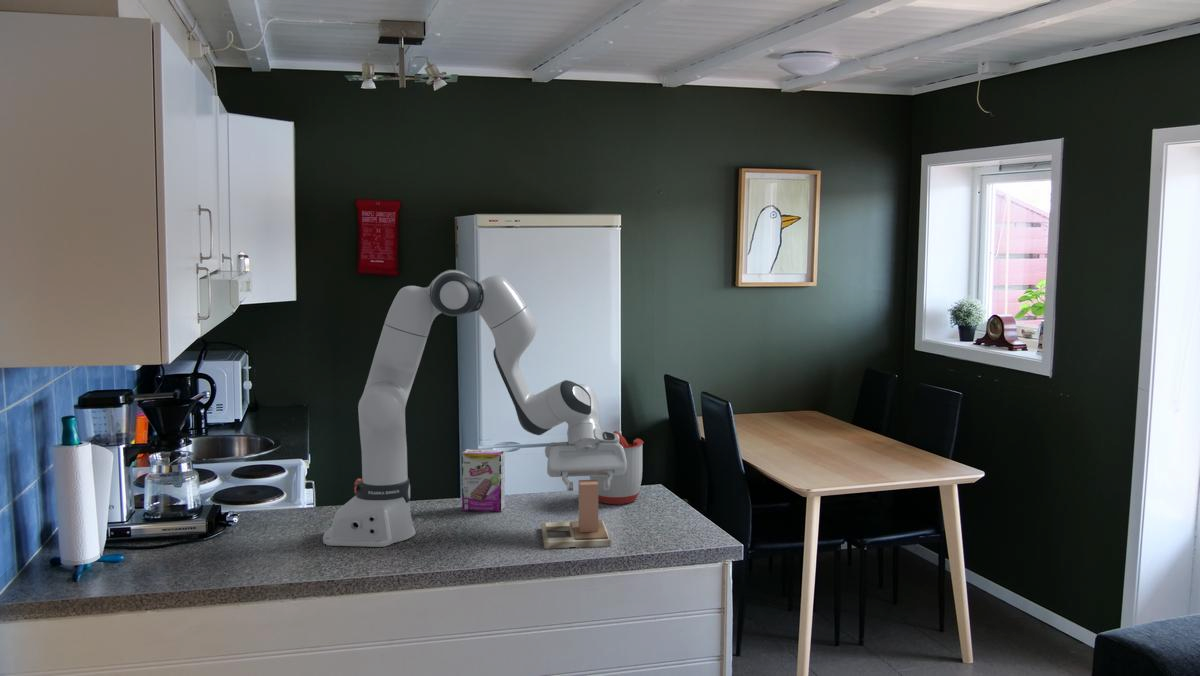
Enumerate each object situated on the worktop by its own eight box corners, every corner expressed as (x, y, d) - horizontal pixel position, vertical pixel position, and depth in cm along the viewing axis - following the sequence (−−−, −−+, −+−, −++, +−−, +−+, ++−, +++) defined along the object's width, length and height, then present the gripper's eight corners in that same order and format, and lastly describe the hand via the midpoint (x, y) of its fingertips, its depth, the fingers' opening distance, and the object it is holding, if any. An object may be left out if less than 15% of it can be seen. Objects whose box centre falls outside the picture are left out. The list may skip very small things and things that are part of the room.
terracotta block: (580, 532, 230) (580, 484, 229) (578, 526, 235) (578, 480, 234) (598, 531, 231) (598, 484, 230) (596, 526, 235) (596, 479, 234)
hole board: (544, 548, 224) (544, 541, 224) (541, 528, 240) (541, 521, 239) (610, 546, 226) (610, 538, 225) (603, 526, 241) (603, 518, 241)
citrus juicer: (656, 495, 270) (656, 427, 268) (625, 510, 255) (625, 438, 253) (610, 488, 278) (610, 422, 276) (578, 502, 264) (577, 432, 262)
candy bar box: (461, 511, 255) (460, 452, 253) (466, 506, 260) (465, 448, 258) (501, 512, 254) (501, 453, 252) (505, 507, 259) (504, 449, 257)
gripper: (544, 436, 236) (547, 484, 228) (624, 434, 238) (630, 481, 230) (544, 449, 241) (546, 496, 232) (622, 447, 243) (627, 494, 235)
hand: (588, 489), depth 231 cm, fingers open, 8 cm apart
